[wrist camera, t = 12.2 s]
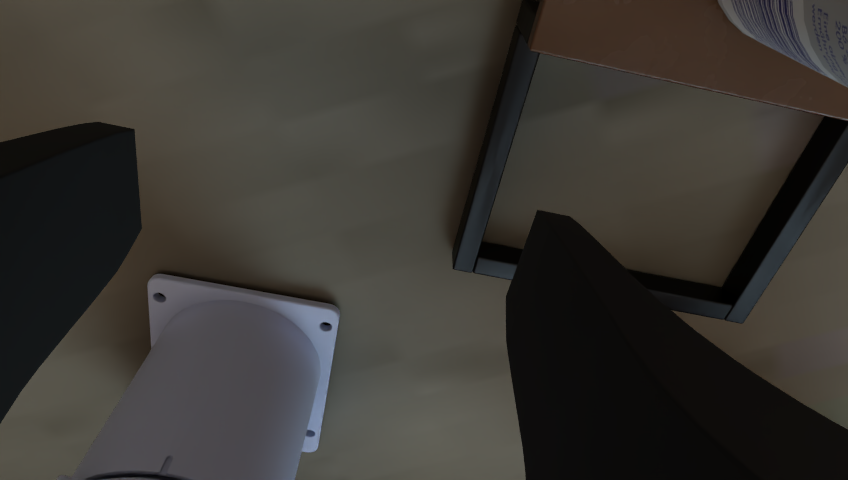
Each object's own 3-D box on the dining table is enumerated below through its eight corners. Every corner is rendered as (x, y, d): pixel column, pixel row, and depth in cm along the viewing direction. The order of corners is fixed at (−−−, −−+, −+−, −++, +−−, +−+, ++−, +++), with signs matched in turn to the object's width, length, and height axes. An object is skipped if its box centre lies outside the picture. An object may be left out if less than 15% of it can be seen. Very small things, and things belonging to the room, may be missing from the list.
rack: (730, 305, 24) (787, 389, 20) (451, 252, 23) (453, 329, 19) (1068, -235, 15) (1297, -276, 11) (622, -362, 14) (695, -461, 10)
